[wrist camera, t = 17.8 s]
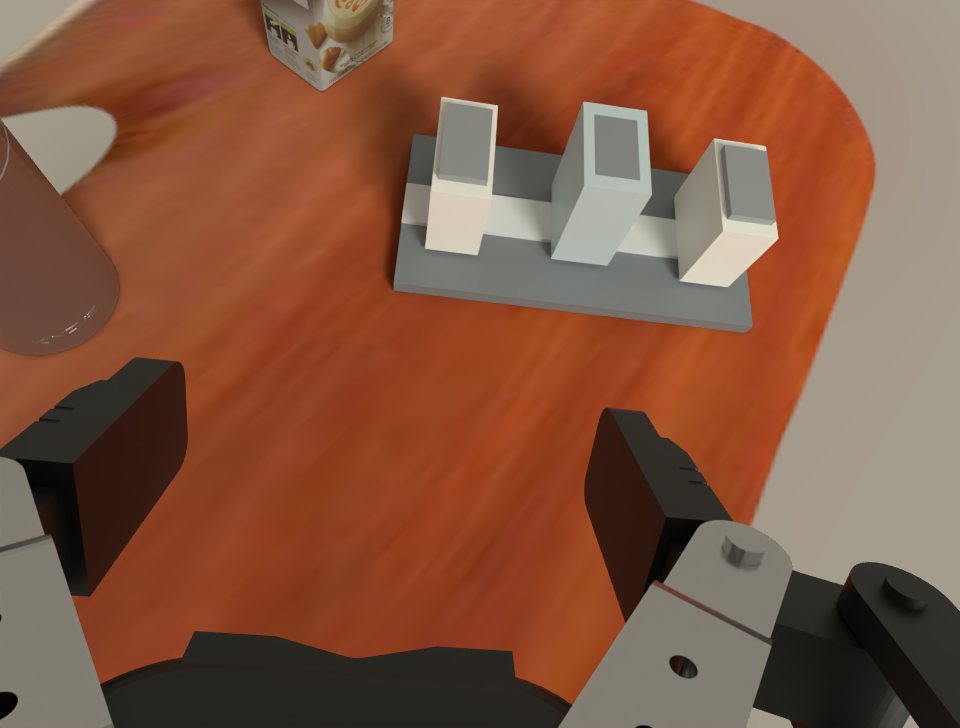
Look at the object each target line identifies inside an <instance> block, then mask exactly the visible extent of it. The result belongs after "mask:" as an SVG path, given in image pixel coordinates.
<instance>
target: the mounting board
mask: <svg viewBox="0 0 960 728" xmlns="http://www.w3.org/2000/svg"><path fill="white" fill-rule="evenodd" d="M436 141H437V137H433V136H427V135H420V134H413V140H412V147H411V155H410V162H409V170H408V178H407V183H406V191H405V198H404V206H403V214H402V224H401V231H400V239H399V246H398V254H397V262H396V269H395V277H394V291H401V292H409V293H417V294H426V295H434V296H442V297H451V298H459V299H467V300H476V301H484V302H492V303H500V304H509V305H517V306H525V307H534V308H542V309H550V310H559V311H567V312H575V313H584V314H592V315H600V316H609V317H617V318H625V319H634V320H642V321H650V322H659V323H667V324H675V325H683V326H692V327H700V328H708V329H717V330H725V331H733V332H742V333H745V332H747V331H748V330H749V329H750V328H752V327H753V324H752V315H751V306H750V297H749V288H748V279H747V270H745V271H744V272H743V273H742V274H741V275H740V276H739V277H738V278H737V279H736V280H735V281H734V282H733V283H732V284H731V285H730V286H729V287H721V286H714V285H706V284H698V283H690V282H682V281H679V267H678V252H677V236H676V221H675V205H674V196H675V195H676V193H677V192H678V190H679V189H680V188H681V186H682V185H683V183H684V182H685V180H686V179H687V177H688V176H689V174H687V173H680V172H673V171H667V170H660V169H653V168H650V170H651V187H652V196H651V197H650V199H649V200H648V202H647V203H646V205H645V207H644V208H643V210H642V211H641V213H640V215H639V216H638V218H637V219H636V221H635V223H634V224H633V226H632V227H631V229H630V231H629V232H628V234H627V235H626V237H625V238H624V240H623V242H622V243H621V245H620V246H619V248H618V250H617V251H616V253H615V254H614V256H613V258H612V259H611V261H610V262H609V264H608V265H607V266H605V265H597V264H588V263H580V262H572V261H564V260H555V259H551V206H552V183H553V180H554V178H555V175H556V172H557V170H558V167H559V164H560V162H561V159H562V157H563V155H557V154H550V153H543V152H536V151H529V150H523V149H516V148H509V147H502V146H495V157H494V171H493V186H492V200H491V204H490V208H489V212H488V216H487V220H486V224H485V228H484V232H483V236H482V240H481V244H480V248H479V252H478V255H471V254H463V253H455V252H447V251H439V250H431V249H425V244H426V234H427V224H428V214H429V204H430V194H431V185H432V176H433V167H434V158H435V150H436Z"/></svg>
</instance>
